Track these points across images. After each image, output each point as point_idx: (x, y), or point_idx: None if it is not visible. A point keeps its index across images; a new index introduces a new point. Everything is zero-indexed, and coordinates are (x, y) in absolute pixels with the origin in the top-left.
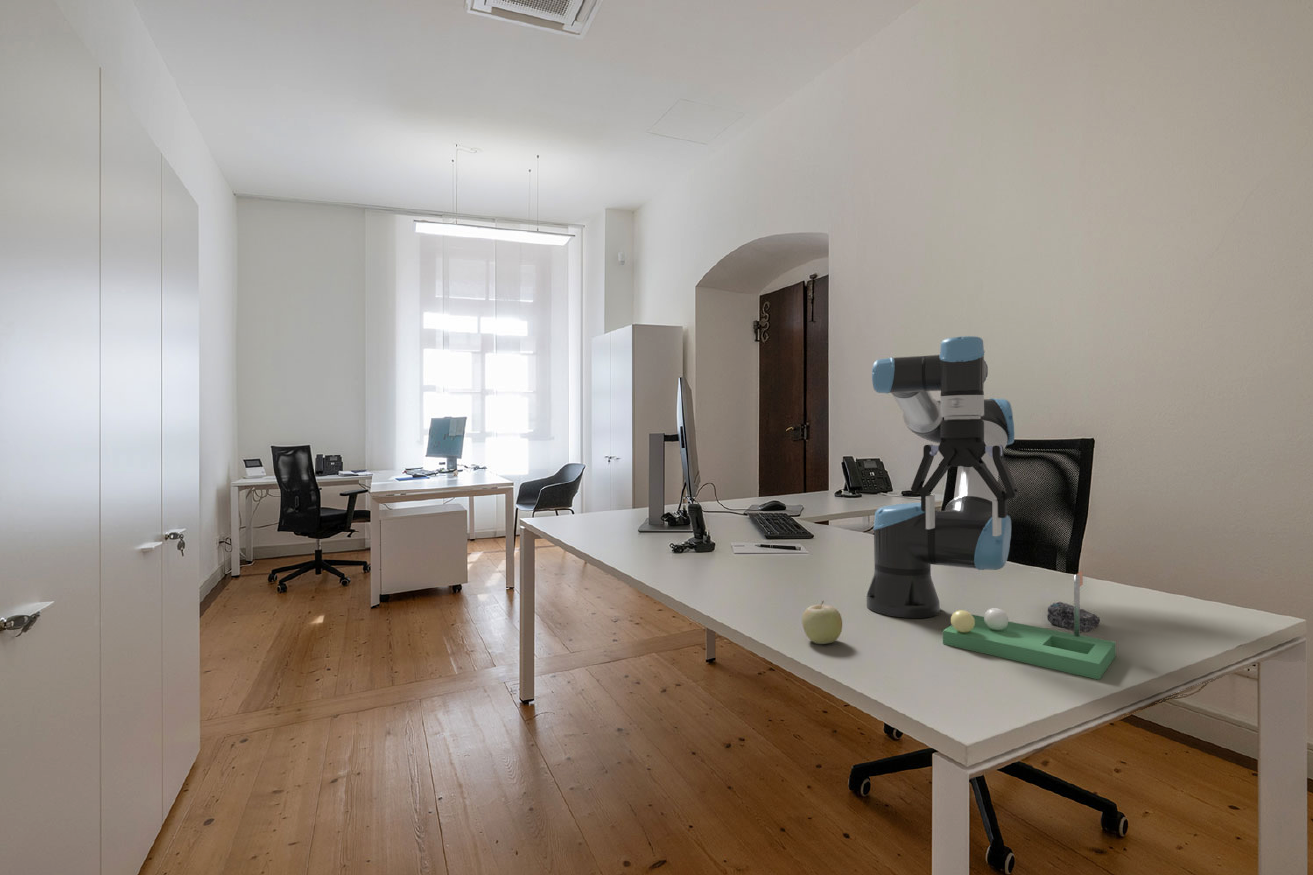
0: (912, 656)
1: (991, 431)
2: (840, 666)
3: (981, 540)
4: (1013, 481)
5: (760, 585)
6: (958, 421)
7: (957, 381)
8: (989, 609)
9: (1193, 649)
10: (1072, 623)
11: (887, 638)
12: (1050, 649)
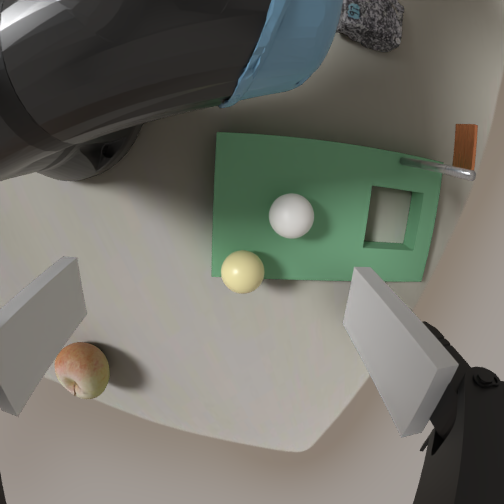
0: (200, 342)
1: None
2: (157, 405)
3: (243, 95)
4: None
5: None
6: None
7: None
8: (282, 224)
9: (486, 79)
10: (375, 42)
11: (137, 295)
12: (373, 263)
